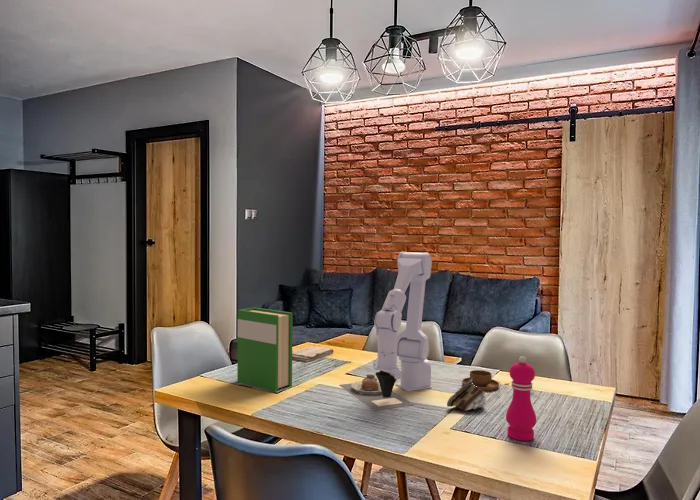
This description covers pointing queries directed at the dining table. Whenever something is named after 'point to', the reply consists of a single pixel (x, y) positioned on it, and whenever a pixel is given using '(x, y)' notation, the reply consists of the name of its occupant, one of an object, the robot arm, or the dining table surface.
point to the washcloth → (311, 353)
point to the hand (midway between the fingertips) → (386, 396)
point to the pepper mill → (521, 402)
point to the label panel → (378, 399)
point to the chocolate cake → (468, 397)
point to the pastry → (368, 386)
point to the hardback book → (265, 348)
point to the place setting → (482, 380)
